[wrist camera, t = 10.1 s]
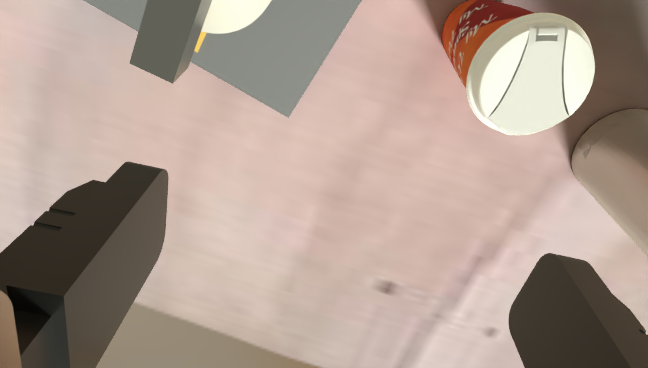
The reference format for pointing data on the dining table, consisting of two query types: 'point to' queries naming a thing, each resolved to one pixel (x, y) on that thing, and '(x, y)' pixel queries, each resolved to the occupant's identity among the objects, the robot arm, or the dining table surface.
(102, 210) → the robot arm
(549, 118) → the paper cup
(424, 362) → the dining table surface
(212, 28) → the coupling
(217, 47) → the post board
